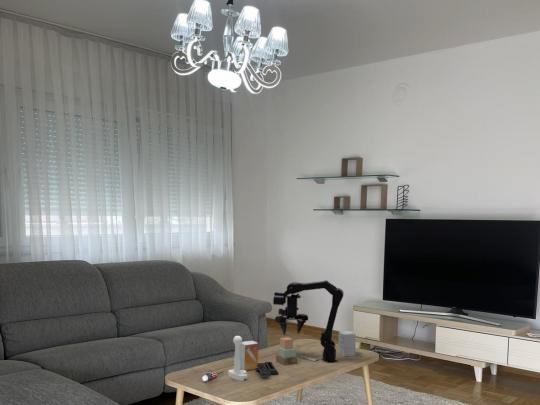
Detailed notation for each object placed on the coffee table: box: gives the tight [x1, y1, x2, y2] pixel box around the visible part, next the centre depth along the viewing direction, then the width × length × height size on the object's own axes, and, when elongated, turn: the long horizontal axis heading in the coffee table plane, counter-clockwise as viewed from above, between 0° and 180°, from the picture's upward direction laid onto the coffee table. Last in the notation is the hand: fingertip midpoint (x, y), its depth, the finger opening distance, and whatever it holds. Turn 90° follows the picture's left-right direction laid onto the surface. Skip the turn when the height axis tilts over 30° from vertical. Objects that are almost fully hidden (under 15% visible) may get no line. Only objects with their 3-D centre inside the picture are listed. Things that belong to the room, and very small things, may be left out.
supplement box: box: [338, 330, 356, 358], centre depth 283 cm, size 7×7×13 cm
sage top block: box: [277, 346, 297, 358], centre depth 265 cm, size 7×7×4 cm
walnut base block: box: [275, 353, 298, 366], centre depth 265 cm, size 8×8×4 cm
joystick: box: [228, 335, 248, 382], centre depth 240 cm, size 11×8×20 cm
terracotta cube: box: [279, 336, 294, 350], centre depth 266 cm, size 5×5×5 cm
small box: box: [240, 340, 259, 371], centre depth 254 cm, size 8×6×13 cm
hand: (291, 333), depth 275 cm, fingers open, 9 cm apart
